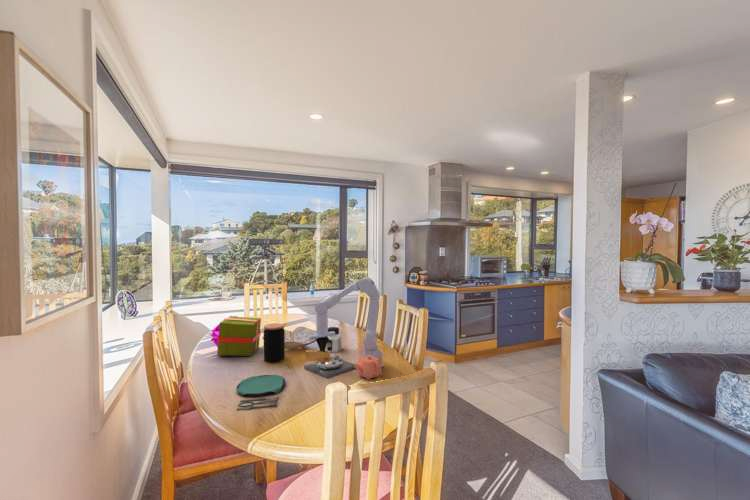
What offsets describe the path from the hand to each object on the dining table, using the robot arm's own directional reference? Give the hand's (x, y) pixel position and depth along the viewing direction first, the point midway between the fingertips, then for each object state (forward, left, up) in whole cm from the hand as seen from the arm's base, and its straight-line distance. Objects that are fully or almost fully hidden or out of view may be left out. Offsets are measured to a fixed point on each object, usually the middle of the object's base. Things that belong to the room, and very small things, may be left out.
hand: (322, 352), depth 175 cm
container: (+15, -19, -7) cm, 25 cm away
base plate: (-7, +1, -6) cm, 9 cm away
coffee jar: (+25, +13, -7) cm, 29 cm away
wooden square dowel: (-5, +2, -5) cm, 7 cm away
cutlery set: (-7, +38, -7) cm, 39 cm away
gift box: (+52, +22, -7) cm, 57 cm away
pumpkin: (-28, -4, -7) cm, 29 cm away
